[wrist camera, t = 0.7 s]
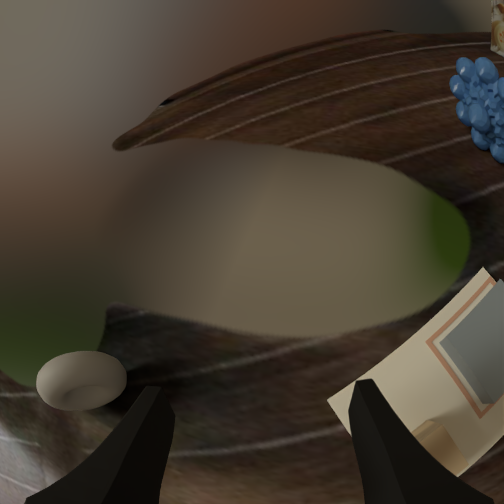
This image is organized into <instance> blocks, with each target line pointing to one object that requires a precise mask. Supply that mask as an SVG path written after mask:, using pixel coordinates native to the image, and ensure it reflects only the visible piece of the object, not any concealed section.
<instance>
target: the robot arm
mask: <svg viewBox="0 0 504 504" xmlns="http://www.w3.org/2000/svg"><path fill="white" fill-rule="evenodd" d="M348 415H349V423H350V430H351V436H352V440H353V444H354V449H355V453H356V457H357V461H358V465H359V469H360V473H361V478H362V483H363V489H364V499H365V504H494V502H493V499H492V498H490V497H488V496H486V495H484V494H483V493H481V492H479V491H477V490H476V489H474V488H472V487H471V486H469V485H468V484H466V483H465V482H463V481H462V480H461V479H459V478H458V477H457V476H455V475H454V474H453V473H452V472H450V471H449V470H448V469H446V468H445V467H444V466H443V465H442V464H441V463H440V462H438V461H437V460H436V459H435V458H434V457H433V456H432V455H431V454H430V453H429V452H428V451H427V450H426V449H425V448H424V447H423V446H422V445H421V444H420V442H419V441H418V440H417V439H416V438H415V437H414V436H413V434H412V433H411V432H410V431H409V430H408V428H407V427H406V426H405V425H404V423H403V422H402V421H401V419H400V418H399V417H398V415H397V414H396V413H395V411H394V410H393V409H392V407H391V406H390V404H389V403H388V401H387V400H386V399H385V397H384V396H383V394H382V393H381V391H380V389H379V388H378V386H377V385H376V383H375V382H374V380H373V379H372V378H370V379H363V380H356V382H355V386H354V390H353V394H352V398H351V401H350V405H349V409H348ZM174 423H175V414H174V412H173V410H172V408H171V406H170V404H169V402H168V400H167V397H166V395H165V393H164V391H163V389H162V387H158V386H146V387H145V389H144V390H143V391H142V393H141V394H140V395H139V397H138V398H137V400H136V401H135V402H134V404H133V405H132V406H131V408H130V409H129V410H128V412H127V413H126V414H125V416H124V417H123V418H122V419H121V421H120V422H119V423H118V425H117V426H116V427H115V428H114V430H113V431H112V432H111V433H110V434H109V435H108V436H107V438H106V439H105V440H104V441H103V442H102V443H101V444H100V445H99V447H98V448H97V449H96V450H95V451H94V452H93V453H92V454H91V455H90V456H88V457H87V458H86V459H85V460H84V461H83V462H82V463H81V464H79V465H78V466H77V467H76V468H75V469H73V470H72V471H71V472H70V473H68V474H67V475H66V476H64V477H63V478H61V479H60V480H58V481H57V482H55V483H54V484H52V485H51V486H49V487H47V488H45V489H43V490H42V491H40V492H38V493H36V494H34V495H32V496H30V497H27V498H26V501H25V503H24V504H159V496H160V488H161V483H162V479H163V475H164V471H165V467H166V463H167V459H168V455H169V451H170V447H171V443H172V439H173V432H174Z"/></svg>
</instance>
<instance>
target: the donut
mask: <svg viewBox="0 0 504 504" xmlns="http://www.w3.org/2000/svg"><path fill="white" fill-rule="evenodd" d="M126 383H127V374H126V371H125V369H124V367H123V366H122V364H121V363H120V362H119V361H118V360H117V359H116V358H114V357H112V356H109V355H107V354H105V353H101V352H95V351H78V352H72V353H67V354H64V355H61V356H58V357H55V358H53V359H52V360H50V361H49V362H47V363H46V364H45V365H44V366H43V367H42V369H41V370H40V371H39V373H38V376H37V383H36V384H37V390H38V393H39V394H40V396H41V397H42V399H43V400H44V401H45V402H46V403H47V404H49V405H51V406H52V407H54V408H58V409H62V410H67V411H81V410H88V409H93V408H97V407H100V406H103V405H105V404H107V403H109V402H111V401H113V400H114V399H115V398H117V397H118V396H119V395H121V393H122V392H123V390H124V389H125V387H126Z"/></svg>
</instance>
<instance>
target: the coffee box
mask: <svg viewBox="0 0 504 504" xmlns="http://www.w3.org/2000/svg"><path fill="white" fill-rule="evenodd" d="M491 8H492V30H491V50H492V51H494V52H496V53H498V54H499V55H501V56H503V57H504V0H491Z"/></svg>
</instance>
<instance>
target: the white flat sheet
mask: <svg viewBox="0 0 504 504" xmlns="http://www.w3.org/2000/svg"><path fill="white" fill-rule="evenodd" d="M495 284H496V282H495V280H494V279H493V278H492V277H491V276H490V275H489V273H488V272H487V271H486V270H485V269H484V268H482V269H481V270H480V271H479V272H478V273H477V274H476V275H475V276H474V278H473V279H472V280H471V281H470V282H469V283H468V284H467V285H466V286H465V287H464V288H463V289H462V290H461V291H460V292H459V293H458V294H457V295H456V296H455V297H454V298H453V299H452V300H451V301H450V302H449V303H448V304H447V305H446V306H445V307H444V308H443V309H442V310H441V311H440V312H439V313H438V314H437V315H435V316H434V317H433V318H432V319H431V320H430V321H429V322H428V323H427V324H426V325H425V326H423V327H422V328H421V329H420V330H419V331H418V332H417V333H415V334H414V335H413V336H412V337H411V338H410V339H408V340H407V341H406V342H405V343H404V344H402V345H401V346H400V347H399V348H398V349H396V350H395V351H394V352H393V353H391V354H390V355H389V356H388V357H386V358H385V359H384V360H383V361H381V362H380V363H379V364H377V365H376V366H375V367H373V368H372V369H371V370H369V371H368V372H367V373H365V374H364V375H363V376H361V377H360V378H358V379H357V380H363V379H370V378H372V379H373V380H374V382H375V383H376V385H377V386H378V388H379V389H380V391H381V393H382V394H383V396H384V397H385V399H386V400H387V401H388V403H389V404H390V406H391V407H392V409H393V410H394V411H395V413H396V414H397V415H398V417H399V418H400V419H401V421H402V422H403V423H404V425H405V426H406V427H407V428H408V430H409V431H410V432H412V431H413V430H415V429H416V428H417V427H418V426H420V425H421V424H422V423H423V422H425V421H426V420H429V421H432V422H436V423H440V424H443V426H444V427H445V429H446V430H447V432H448V433H449V435H450V436H451V438H452V439H453V441H454V442H455V444H456V445H457V447H458V448H459V450H460V451H461V453H462V454H463V456H464V458H465V459H466V461H467V462H468V464H469V465H468V466H467V467H466V468H465V469H463V470H462V471H461V472H460V473H459V474H457V475H456V476H457V477H458V476H460V475H461V474H462V473H463V472H465V471H466V470H467V469H468V468H469V467H470V466H472V465H473V464H474V463H475V462H476V461H477V460H478V459H479V458H480V457H482V456H483V455H484V454H485V453H486V452H487V451H488V450H489V449H490V448H491V447H492V446H493V445H494V444H495V443H496V442H497V441H498V440H499V439H500V438H501V437H502V436H503V435H504V393H503V394H502V396H501V397H500V398H499V399H498V400H497V401H496V402H495V403H493V404H482V402H481V401H480V399H479V398H478V396H477V395H476V393H475V392H474V390H473V389H472V387H471V386H470V385H469V383H468V382H467V380H466V379H465V377H464V376H463V375H462V373H461V372H460V370H459V369H458V368H457V366H456V365H455V364H454V362H453V361H452V359H451V358H450V357H449V355H448V354H447V353H446V351H445V350H444V349H443V347H442V346H441V345H440V343H439V342H440V341H442V340H443V339H444V338H445V337H446V336H447V335H448V334H449V333H450V332H451V331H452V330H453V329H454V328H455V327H456V326H457V325H458V324H459V323H460V322H461V321H462V320H463V319H464V318H465V317H466V316H467V315H468V314H469V313H470V312H471V311H472V310H473V309H474V307H475V306H476V305H477V304H478V303H479V302H480V301H481V300H482V299H483V298H484V297H485V295H486V294H487V293H488V292H489V291H490V290H491V289H492V288H493V286H494V285H495ZM355 382H356V381H354V382H353V383H351V384H350V385H349V386H347V387H346V388H344V389H343V390H341V391H340V392H338V393H337V394H335V395H334V396H332V397H331V398H329V399H328V400H327V401H328V402H329V404H330V405H331V407H332V408H333V410H334V411H335V413H336V414H337V416H338V417H339V419H340V420H341V422H342V423H343V425H344V426H345V428H346V429H347V431H348V432H349V434H350V435H351V430H350V423H349V415H348V409H349V405H350V401H351V398H352V394H353V390H354V386H355ZM351 437H352V436H351Z"/></svg>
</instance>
